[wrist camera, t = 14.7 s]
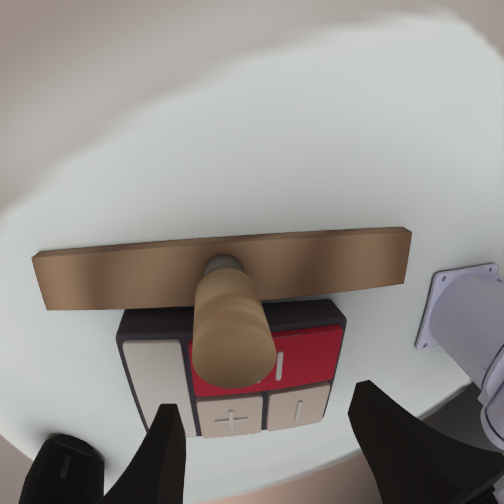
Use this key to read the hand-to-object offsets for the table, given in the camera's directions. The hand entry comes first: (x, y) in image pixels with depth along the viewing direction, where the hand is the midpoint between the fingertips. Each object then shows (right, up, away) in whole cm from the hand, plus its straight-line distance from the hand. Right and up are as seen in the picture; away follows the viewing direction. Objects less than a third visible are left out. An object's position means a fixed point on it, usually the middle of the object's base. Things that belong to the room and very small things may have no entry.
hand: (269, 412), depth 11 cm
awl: (-2, +5, +8) cm, 9 cm away
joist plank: (-3, +5, +9) cm, 11 cm away
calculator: (-2, -2, +12) cm, 13 cm away
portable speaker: (-22, -17, +15) cm, 32 cm away
